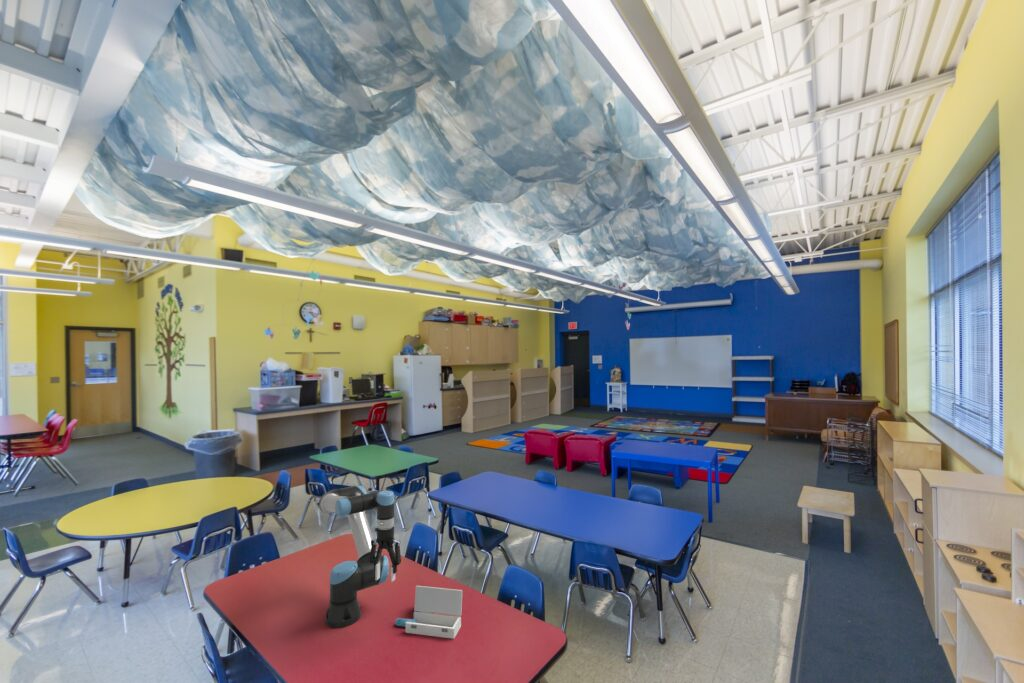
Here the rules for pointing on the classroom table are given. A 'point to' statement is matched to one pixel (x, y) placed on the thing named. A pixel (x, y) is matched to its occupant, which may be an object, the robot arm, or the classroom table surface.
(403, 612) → the classroom table surface
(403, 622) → the blue pill shape
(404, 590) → the classroom table surface
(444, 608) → the cover
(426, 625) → the white latched case
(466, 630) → the classroom table surface
